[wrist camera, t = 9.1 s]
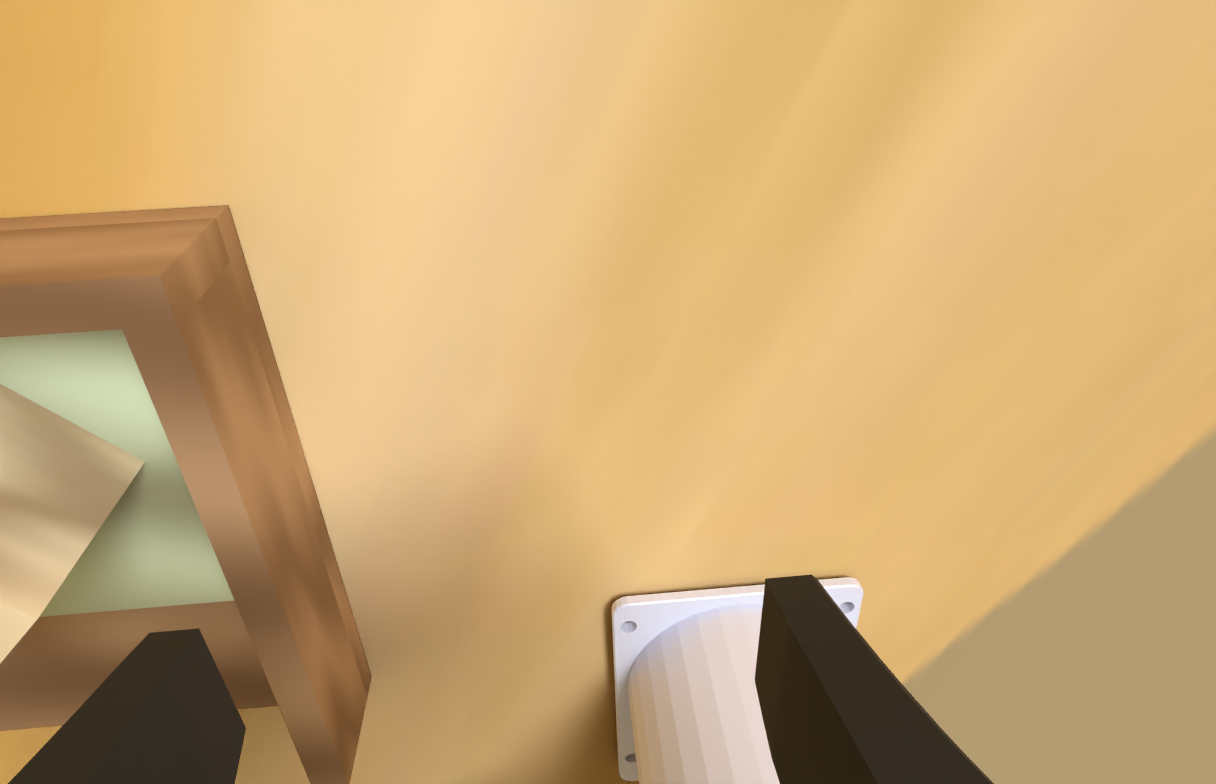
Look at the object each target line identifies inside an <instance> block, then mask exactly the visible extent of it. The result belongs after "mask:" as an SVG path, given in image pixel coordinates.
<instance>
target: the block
mask: <svg viewBox="0 0 1216 784" xmlns="http://www.w3.org/2000/svg"><path fill="white" fill-rule="evenodd" d="M144 463H145V462H144V461H142V460H141V459H139V458H137V457H135V456H133V455H131V454H129V453H128V452H126V451H124V450H122V449H120V448H118V447H117V446H115V445H113V444H111V443H109V442H107V441H105V440H104V439H102V438H100V437H98V436H96V435H94V434H92V433H91V432H89V431H87V430H85V429H83V428H81V427H79V426H78V425H76V424H74V423H72V422H70V421H68V420H66V419H65V418H63V417H61V416H59V415H57V414H55V413H54V412H52V411H50V410H48V409H46V408H44V407H42V406H41V405H39V404H37V403H35V402H33V401H31V400H29V399H28V398H26V397H24V396H22V395H20V394H18V393H16V392H15V391H13V390H11V389H9V388H7V387H5V386H3V385H2V384H0V663H1V662H2V661H3V660H4V658H5V657H6V656H7V655H8V654H9V653H10V651H11V650H12V649H13V648H14V647H15V645H16V644H17V643H18V642H19V641H20V639H21V638H22V637H23V636H24V635H25V633H26V632H27V631H28V630H29V629H30V628H31V626H32V625H33V624H34V623H35V622H36V620H37V619H38V618H39V616H40V615H41V613H42V612H43V610H44V609H45V608H46V606H47V605H48V603H49V602H50V600H51V599H52V597H53V596H54V594H55V593H56V591H57V590H58V589H59V587H60V586H61V584H62V583H63V581H64V580H65V578H66V577H67V575H68V574H69V572H70V571H71V569H72V568H73V567H74V565H75V564H76V562H77V561H78V559H79V558H80V556H81V555H82V553H83V552H84V550H85V549H86V548H87V546H88V545H89V543H90V542H91V540H92V539H93V537H94V536H95V534H96V533H97V531H98V530H99V529H100V527H101V526H102V524H103V523H104V521H105V520H106V518H107V517H108V515H109V514H110V512H111V511H112V510H113V508H114V507H115V505H116V504H117V502H118V501H119V499H120V498H121V496H122V495H123V493H124V492H125V491H126V489H127V488H128V486H129V485H130V483H131V482H132V480H133V479H134V477H135V476H136V474H137V473H138V471H139V470H140V469H141V467H142V466H143V464H144Z"/></svg>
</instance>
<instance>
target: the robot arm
mask: <svg viewBox="0 0 1216 784" xmlns="http://www.w3.org/2000/svg"><path fill="white" fill-rule="evenodd" d="M862 599H863V589H862V587H861V585H860V583H859V582H858V580H857V579H854V578H849V577H844V578H832V579H821V580H817V579H816V578H815V577H814V576H812V575H804V576H792V577H781V578H769V579H765V584H763V585H751V586H739V587H728V588H716V589H705V590H693V591H681V592H670V593H658V594H646V595H635V596H625V597H621V598H619V599H618V600H616V601H615V602H614V603H613V604H612V608H611V612H612V635H613V657H614V680H615V702H616V725H617V747H618V768H619V775H620V777H621V778H622V779H624V780H626V781H639V784H994V783H992V781H991V780H989V778H988V777H987V776H986V775H985V774H984V773H983V772H982V771H981V770H980V769H979V768H978V767H977V766H976V765H975V764H974V763H973V762H972V761H971V760H970V759H969V758H968V757H967V756H966V755H965V754H964V753H963V751H962V750H961V749H960V748H959V747H958V746H957V745H956V744H955V743H954V742H953V741H952V740H951V739H950V737H948V735H947V734H946V733H945V732H944V731H943V730H942V729H941V728H940V727H939V726H938V724H936V722H935V721H934V720H933V719H932V718H931V717H930V715H929V714H928V713H927V712H926V711H925V710H924V709H923V707H922V706H921V705H920V704H919V703H918V702H917V701H916V700H915V699H914V697H913V696H912V695H911V694H910V693H909V692H908V691H907V689H906V688H905V687H904V686H903V685H902V684H901V683H900V681H899V680H898V679H897V678H896V677H895V676H894V674H893V673H892V672H891V671H890V670H889V669H888V667H887V666H886V665H885V664H884V663H883V661H882V660H881V659H880V658H879V657H878V655H877V654H876V653H875V652H874V650H873V649H872V648H871V647H870V646H869V644H868V643H867V642H866V641H865V639H864V638H863V637H862V636H861V635H860V633H859V632H858V631H857V630H856V628H857V623H858V618H859V613H860V608H861V604H862ZM845 602H846V603H845ZM627 621H632V622H629V623H624V622H627ZM245 729H246V727H245V725H244V723H243V721H242V719H241V717H240V715H239V713H238V710H237V708H236V706H235V704H234V702H233V700H232V698H231V695H230V693H229V691H228V689H227V687H226V685H225V683H224V680H223V678H222V676H221V674H220V672H219V670H218V668H217V666H216V663H215V661H214V659H213V657H212V655H211V653H210V651H209V648H208V646H207V644H206V642H205V640H204V638H203V636H202V634H201V631H200V629H199V628H197V629H186V630H175V631H163V632H152V633H149V634H148V635H147V636H146V637H145V638H144V639H143V640H142V641H141V642H140V643H139V644H138V645H137V646H136V647H135V648H134V649H133V650H132V651H131V653H130V654H129V655H128V656H127V657H126V658H125V659H124V660H123V661H122V662H121V663H120V664H119V665H118V667H117V668H116V669H115V670H114V671H113V672H112V673H111V674H110V675H109V676H108V677H107V678H106V680H105V681H104V682H103V683H102V684H101V685H100V686H99V687H98V688H97V689H96V690H95V691H94V692H93V694H92V695H91V696H90V697H89V698H88V699H87V700H86V701H85V702H84V703H83V704H82V705H81V707H80V708H79V709H78V710H77V711H76V712H75V713H74V714H73V715H72V716H71V717H70V718H69V720H68V721H67V722H66V723H65V724H64V725H63V726H62V727H61V728H60V729H59V730H58V731H57V732H56V734H55V735H54V736H53V737H52V738H51V739H50V740H49V741H48V742H47V743H46V744H45V745H44V746H43V747H42V749H41V750H40V751H39V752H38V753H37V754H36V755H35V756H34V757H33V758H32V759H31V760H30V761H29V762H28V763H27V764H26V765H25V766H24V767H23V769H22V770H21V771H20V772H19V773H18V774H17V775H16V776H15V777H14V778H13V779H12V780H11V781H10V782H9V783H8V784H234V783H235V778H236V774H237V769H238V764H239V759H240V754H241V749H242V744H243V739H244V734H245Z"/></svg>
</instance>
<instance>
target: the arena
mask: <svg viewBox="0 0 1216 784" xmlns="http://www.w3.org/2000/svg"><path fill="white" fill-rule="evenodd" d="M0 384H2V385H3V386H5V387H7V388H9V389H11V390H13V391H15V392H16V393H18V394H20V395H22V396H24V397H26V398H28V399H29V400H31V401H33V402H35V403H37V404H39V405H41V406H42V407H44V408H46V409H48V410H50V411H52V412H54V413H55V414H57V415H59V416H61V417H63V418H65V419H66V420H68V421H70V422H72V423H74V424H76V425H78V426H79V427H81V428H83V429H85V430H87V431H89V432H91V433H92V434H94V435H96V436H98V437H100V438H102V439H104V440H105V441H107V442H109V443H111V444H113V445H115V446H117V447H118V448H120V449H122V450H124V451H126V452H128V453H129V454H131V455H133V456H135V457H137V458H139V459H141V460H142V461H144V462H145V463H144V464H143V466H142V467H141V469H140V470H139V471H138V473H137V474H136V476H135V477H134V479H133V480H132V482H131V483H130V485H129V486H128V488H127V489H126V491H125V492H124V493H123V495H122V496H121V498H120V499H119V501H118V502H117V504H116V505H115V507H114V508H113V510H112V511H111V512H110V514H109V515H108V517H107V518H106V520H105V521H104V523H103V524H102V526H101V527H100V529H99V530H98V531H97V533H96V534H95V536H94V537H93V539H92V540H91V542H90V543H89V545H88V546H87V548H86V549H85V550H84V552H83V553H82V555H81V556H80V558H79V559H78V561H77V562H76V564H75V565H74V567H73V568H72V569H71V571H70V572H69V574H68V575H67V577H66V578H65V580H64V581H63V583H62V584H61V586H60V587H59V589H58V590H57V591H56V593H55V594H54V596H53V597H52V599H51V600H50V602H49V603H48V605H47V606H46V608H45V609H44V610H43V612H42V613H41V615H40V616H39V618H38V619H37V620H36V622H35V623H34V624H33V625H32V626H31V628H30V629H29V630H28V631H27V632H26V633H25V635H24V636H23V637H22V638H21V639H20V641H19V642H18V643H17V644H16V645H15V647H14V648H13V649H12V650H11V651H10V653H9V654H8V655H7V656H6V657H5V658H4V660H3V661H2V662H1V663H0V731H5V730H16V729H27V728H38V727H49V726H60V725H64V724H65V723H66V722H67V721H68V720H69V718H70V717H71V716H72V715H73V714H74V713H75V712H76V711H77V710H78V709H79V708H80V707H81V705H82V704H83V703H84V702H85V701H86V700H87V699H88V698H89V697H90V696H91V695H92V694H93V692H94V691H95V690H96V689H97V688H98V687H99V686H100V685H101V684H102V683H103V682H104V681H105V680H106V678H107V677H108V676H109V675H110V674H111V673H112V672H113V671H114V670H115V669H116V668H117V667H118V665H119V664H120V663H121V662H122V661H123V660H124V659H125V658H126V657H127V656H128V655H129V654H130V653H131V651H132V650H133V649H134V648H135V647H136V646H137V645H138V644H139V643H140V642H141V641H142V640H143V639H144V638H145V637H146V636H147V635H148V634H149V633H152V632H163V631H175V630H186V629H197V628H199V629H200V631H201V634H202V636H203V638H204V640H205V642H206V644H207V646H208V648H209V651H210V653H211V655H212V657H213V659H214V661H215V663H216V666H217V668H218V670H219V672H220V674H221V676H222V678H223V680H224V683H225V685H226V687H227V689H228V691H229V693H230V695H231V698H232V700H233V702H234V704H235V706H236V708H237V709H246V708H257V707H268V706H279V709H280V711H281V713H282V716H283V718H284V721H285V723H286V725H287V728H288V730H289V733H290V735H291V738H292V740H293V742H294V745H295V747H296V750H297V752H298V754H299V757H300V759H301V762H302V764H303V766H304V769H305V771H306V774H307V776H308V778H309V781H310V783H311V784H349V783H350V778H351V773H352V768H353V764H354V759H355V754H356V749H357V744H358V739H359V734H360V730H361V725H362V720H363V715H364V710H365V705H366V700H367V695H368V691H369V686H370V681H371V674H370V670H369V667H368V664H367V660H366V657H365V654H364V651H363V647H362V644H361V641H360V637H359V634H358V631H357V627H356V624H355V621H354V618H353V614H352V611H351V608H350V604H349V601H348V598H347V594H346V591H345V588H344V585H343V581H342V578H341V575H340V571H339V568H338V565H337V561H336V558H335V555H334V552H333V548H332V545H331V542H330V538H329V535H328V532H327V528H326V525H325V522H324V519H323V515H322V512H321V509H320V505H319V502H318V499H317V495H316V492H315V489H314V486H313V482H312V479H311V476H310V472H309V469H308V466H307V462H306V459H305V456H304V453H303V449H302V446H301V443H300V439H299V436H298V433H297V429H296V426H295V423H294V419H293V416H292V413H291V410H290V406H289V403H288V400H287V396H286V393H285V390H284V386H283V383H282V380H281V377H280V373H279V370H278V367H277V363H276V360H275V357H274V353H273V350H272V347H271V344H270V340H269V337H268V334H267V330H266V327H265V324H264V320H263V317H262V314H261V311H260V307H259V304H258V301H257V297H256V294H255V291H254V287H253V284H252V281H251V278H250V274H249V271H248V268H247V264H246V261H245V258H244V254H243V251H242V248H241V245H240V241H239V238H238V235H237V231H236V228H235V225H234V221H233V218H232V215H231V212H230V208H229V205H224V206H207V207H190V208H173V209H156V210H139V211H122V212H105V213H88V214H71V215H54V216H37V217H20V218H3V219H0Z"/></svg>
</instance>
